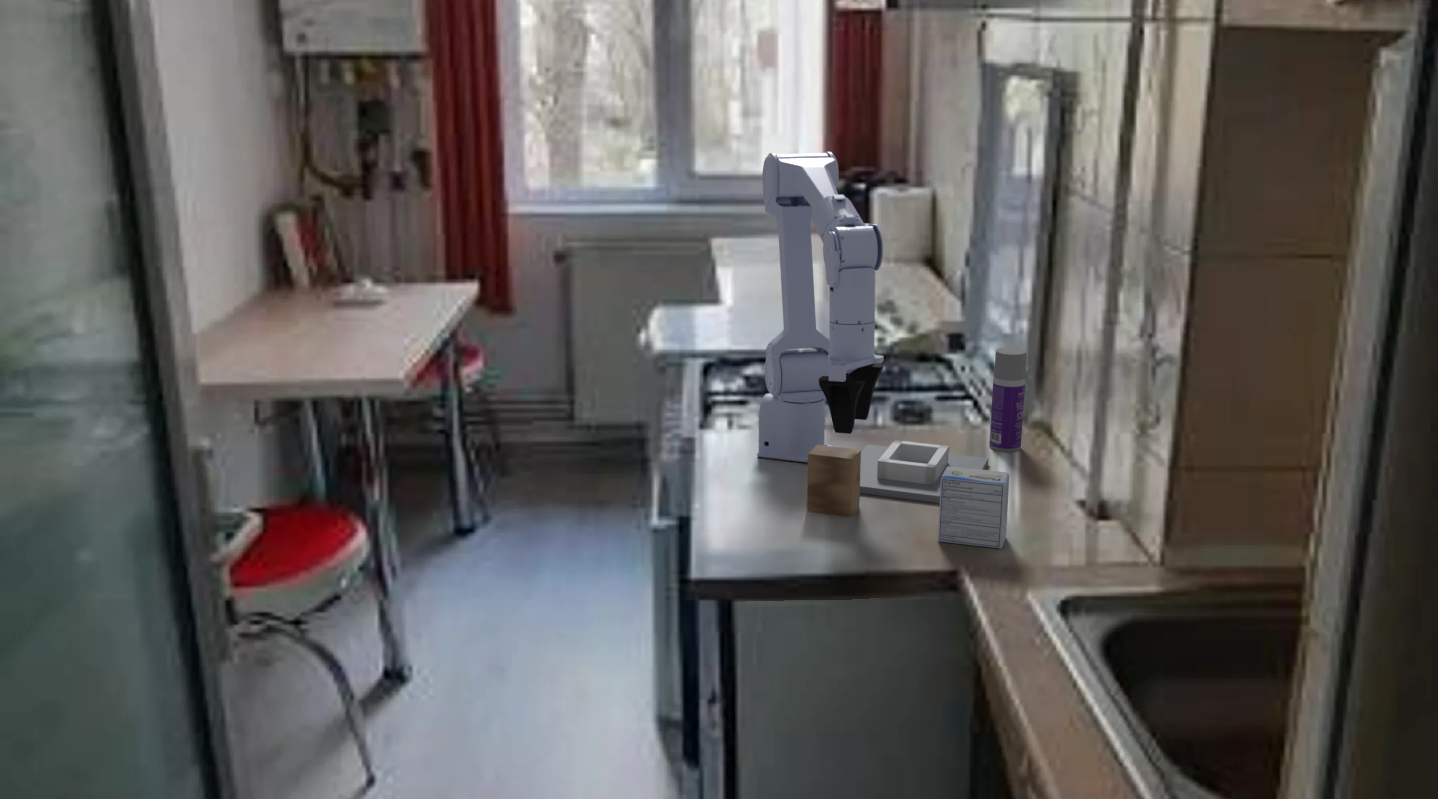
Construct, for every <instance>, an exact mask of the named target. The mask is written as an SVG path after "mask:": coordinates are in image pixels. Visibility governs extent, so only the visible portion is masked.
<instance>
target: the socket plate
mask: <svg viewBox="0 0 1438 799" xmlns="http://www.w3.org/2000/svg"><path fill="white" fill-rule="evenodd" d="M949 451H950V446H949V445H943V444H942V445H941V444H932V443H923V442H916V441H915V442H914V441H908V440H898V439H897V440H896V439H894V440H893V441H892V442H891V444H890V445H889V446H886V445H885V446H884V445H876V444H875V445H874V444H869V443H867V444H866V445H865V447H864V448H863V449H862V450H861V468H860V494H862V495H863V494H864V495H872V496H880V497H887V498H894V499H895V498H896V499H902V500H903V499H905V500H911V501H917V502H918V501H920V502H926V503H927V502H928V503H935V504H940V481H941V477H942V475H943V473H944V471H945V470H946V468H947V467H948V466H950V467H961V468H971V469H982V470H987V467H988V466H989V458H988V457H982V456H981V457H980V456H971V455H963V454H954V453H950V452H949Z"/></svg>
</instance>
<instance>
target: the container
mask: <svg viewBox="0 0 1438 799" xmlns="http://www.w3.org/2000/svg"><path fill="white" fill-rule="evenodd" d="M1026 370H1027V350H1025V349H1023V348H1020V347H1019V348H1018V347H1009V346H1008V347H1007V346H1006V347H999V348H996V349H995V355H994V366H993V378H992V393H991V411H990V426H989V427H990V428H989V429H990V430H989V444H988V445H989V448H990V449H991V450H993V451H996V452H1001V453H1014V452H1015V453H1016V452H1018V451H1020V450H1022V449H1021V448H1022V434H1023V425H1024V424H1023V422H1024V408H1025V407H1024V406H1025V391H1026V374H1027V373H1026V372H1027V371H1026Z"/></svg>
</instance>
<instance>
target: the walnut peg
mask: <svg viewBox="0 0 1438 799" xmlns="http://www.w3.org/2000/svg"><path fill="white" fill-rule="evenodd" d="M861 451H862V450H861V449H860V448H859V449H856V448H848V447H841V446H840V447H839V446H833V445H832V446H824V445H816V446H815V447H814V448H813V449H812V450H811V451H810V452H809V453H808V463H807V485H806V486H807V488H806V490H807V491H806V493H807V494H806V496H807V497H806V512H808V513H816V514H817V513H818V514H823V515H831V516H838V517H844V518H845V517H846V518H852V517H853V516H854V515H855V513H856V512H857V510H858V509H859V508H860V500H861V499H860V497H861V496H860V494H861V493H860V468H861Z"/></svg>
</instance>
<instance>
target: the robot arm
mask: <svg viewBox="0 0 1438 799" xmlns="http://www.w3.org/2000/svg"><path fill="white" fill-rule="evenodd" d="M839 171H840V170H839V163H838V160H837V158H836V156H835V155H834V153H833V152H832V151H825V152H808V153H807V152H803V153H801V152H800V153H775V152H770V153H768V154H767V156H766V157H765V158H764V161H763V166H762V193H763V194H762V197H763V205H764V207H765V208H764V210H765V212H766V213H767V214H770V215H772V216H773V217H775V221H776V226H777V231H778V234H777V235H778V248H779V267H780V268H779V269H780V282H781V284H780V285H781V304H782V320H783V330H781V332H780V333H778V335H775V337H774V338H772V339H771V340H770V341H769V343H768V344H767V346H766V348H765V363H764V379H765V385H766V388H767V391H768V393H765V394H764V395H763V397H762V399H761V401H760V405H759V410H758V413H759V414H758V452H757V454H756V456H757V457H758V458H765V459H766V458H767V459H774V460H783V461H793V462H798V463H799V462H800V463H807V464H808V453H809V452H810V451H811V450H812V449H813V448H814V447H815V446H816V445H824V446H833V445H832V444H825V429H826V428H825V427H826V426H825V424H826V422H825V421H826V403H827V405H828V408H829V413H830V418H831V422H832V426H833V427H832V428H833V430H834V433H835V434H847V435H848V434H849V435H850V434H852V432H853V430H854V427H855V421H856V420H858V421H859V420H860V421H861V420H862V421H866V420H867V419H868V417H869V413H870V408H871V404H872V398H873V395H874V391H875V387H876V384H877V382H878V379H879V378H880V375H881V373H882V372H883V370H884V364H882V363H883V362H884V360H885V359H884V356H883V355H881V354H880V355H877V354H875V339H876V338H875V337H876V335H875V332H876V330H875V326H876V325H875V324H876V322H875V320H876V316H875V315H876V314H875V313H876V308H875V307H876V271H879V270H880V269H881V266H882V263H883V257H884V256H883V255H884V242H883V237H882V233H881V231H880V229H879V226H878V224H876V223H866V222H865V223H864V221H863V219H862V218H861V216H860V214H859V213H858V211H857V209H856V208H855V206H854V205H853V203H852V201H851V200H850V199H849V198H848V197H847V196H845V194H839V193H838V190H837V189H838V185H839V180H840V179H839V177H840V176H839V175H840V174H839V173H840V172H839ZM811 222H812V225H813V227H814V229H815V230H816V231H815V232H817V234H818V236H819V238H820V240H821V242H822V243H823V245H822V256H823V262H824V267H825V281H826V285H827V286H829V309H828V310H829V312H828V313H829V322H828V323H829V325H828V326H829V327H828V329H829V331H828V332H829V333H828V334H829V337H828V336H826V335H825V334H823V332H820V331H819V330H818V329H817V319H816V318H817V317H816V303H815V302H816V301H815V300H816V299H815V286H814V285H815V283H814V267H813V266H814V265H813V264H814V262H813V249H812V248H813V246H812V231H811V230H812V227H811ZM801 349H814V350H815V351H804V352H803V351H801V352H785V351H787V350H801ZM784 352H785V353H784Z"/></svg>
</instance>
